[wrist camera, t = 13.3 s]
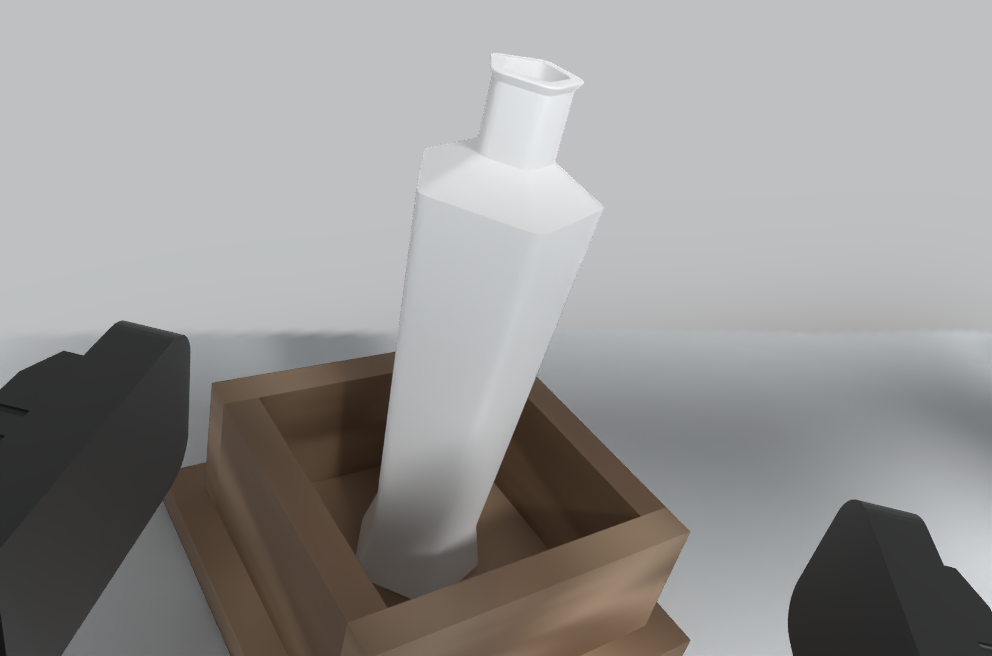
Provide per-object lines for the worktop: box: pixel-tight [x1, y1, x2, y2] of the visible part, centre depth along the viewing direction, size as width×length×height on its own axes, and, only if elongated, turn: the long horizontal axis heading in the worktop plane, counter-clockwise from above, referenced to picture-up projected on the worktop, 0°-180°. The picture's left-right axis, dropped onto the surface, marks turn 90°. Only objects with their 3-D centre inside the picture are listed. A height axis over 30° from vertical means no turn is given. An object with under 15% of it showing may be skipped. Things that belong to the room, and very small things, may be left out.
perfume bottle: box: [356, 53, 604, 599], centre depth 22 cm, size 5×4×15 cm
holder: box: [163, 352, 690, 656], centre depth 25 cm, size 12×12×5 cm
